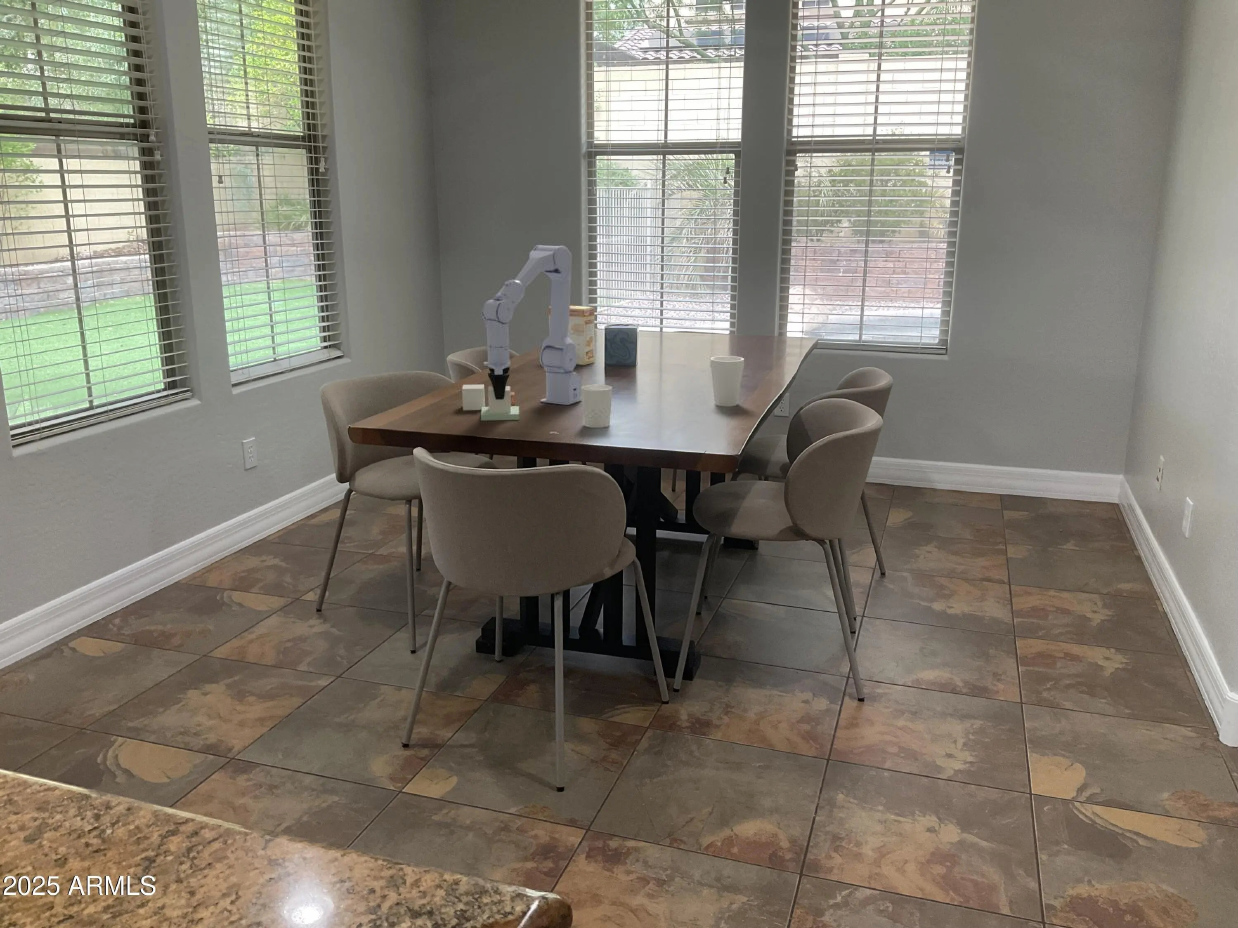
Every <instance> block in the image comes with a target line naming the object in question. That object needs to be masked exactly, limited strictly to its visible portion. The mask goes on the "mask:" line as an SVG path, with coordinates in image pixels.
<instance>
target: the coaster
mask: <svg viewBox="0 0 1238 928" xmlns="http://www.w3.org/2000/svg"><path fill="white" fill-rule="evenodd" d="M480 411H481V413H480V421H517V420H518V421H519V420H520V406H517V405H515V406H511V413H489V406H485V407H482V410H480Z"/></svg>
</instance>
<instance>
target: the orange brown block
mask: <svg viewBox="0 0 1238 928" xmlns="http://www.w3.org/2000/svg"><path fill="white" fill-rule="evenodd" d="M510 396H511V406H516V405H515V403H516V402H515V401H516V398H515V391H510Z"/></svg>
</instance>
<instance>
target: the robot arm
mask: <svg viewBox="0 0 1238 928" xmlns="http://www.w3.org/2000/svg"><path fill="white" fill-rule="evenodd" d="M528 257H529V258H528V260H527V262H526V263H525V265H524V266H523V267H522V268H521V270H520V272H519V273H518V275H517V276H516V277H515V278H514V279H509V280H507V281H505V282H504V285H503V286H502V288H501V289H500V290H499V291H498V292H497V293H496V294H495V295H494V297H493V299H489V300H487V301H486V302H485V303H484V304H483V305H482V309H481V311H480V315H481V318H482V319H483V321H484V326H485V328H486V344H487V346H486V347H487V348H486V349H487V361H484V362H483V366H484V367H485V366H487V367H488V370H489V372H488V373H487V376H488V378H489V380H490V383H491V385H492V386H491V387H493V390H494V395H495V398H496V400H503V399H504V396H505V388H506V386H507V382H508V379H509V378H510V373H509V372H510V370H511V369H510V367H511V361H510V335H509V332H510V331H509V329H510V328H509V322H510V321H511V320H512V319H513V316H514V311H515V309H516V307H517V305H518V304H519V303H520V302H521V300H522V299H523V298H524V297H525V295H526V288H527V286H528V285H529V284H530V283H531V282H533V280H534V279H536V277H537V276H538V275H539V274H540V273H541V272H542V273H543V274H545V275H547V276H548V277H549V278H550V280H551V286H550V287H551V290H550V291H551V293H550V306H551V308H550V330H549V329H548V330H549V333H548V337H546V338H545V339H544V340H543V341H542V347H541V350H540V353H539V362H540V365H541V366H542V367H543V371H545V385H546V387H545V388H546V390H545V391H546V395H545V396H546V397H545V398H542V399H540V402H542V403H549V404H557V405H565V406H568V405H572V404H575V403H578V402H580V401H581V402H582V395H581V377H580V375H579V374H578V372H574V369H575V368H576V365H577V364H576V363H577V354H576V345H575V343H574V342H573V341H572V340H571V339H570V338H569V337H568V332H569V312H570V306H571V291H572V289H571V288H572V264H573V263H572V262H573V260H572V259H573V254H572V252H571V251H570V249H568V248H567V246H565V245H559V246H558V245H542V244H537V245H535V246H534V247H533V249H532V250H531V251H530V252H529V255H528ZM555 346H559V347H562V348H558V347H555Z"/></svg>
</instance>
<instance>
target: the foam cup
mask: <svg viewBox="0 0 1238 928" xmlns="http://www.w3.org/2000/svg"><path fill="white" fill-rule="evenodd" d="M709 367H710V370H711V378H712V379H711V381H712V389H713V400H714V404H715V405H716V406H719V407H734V406H738V401H739V395H740V390H741V385H742V377H743V371H744V368H745V358H743V357H741V356H735V355H734V356H733V355H731V356H730V355H721V356H720V355H718V356H717V355H716V356H712V357H711V358H710V361H709Z"/></svg>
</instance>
